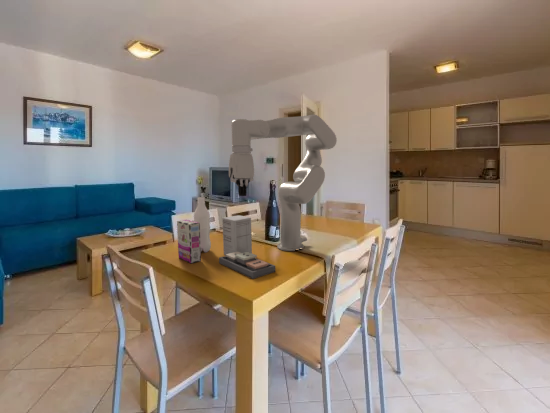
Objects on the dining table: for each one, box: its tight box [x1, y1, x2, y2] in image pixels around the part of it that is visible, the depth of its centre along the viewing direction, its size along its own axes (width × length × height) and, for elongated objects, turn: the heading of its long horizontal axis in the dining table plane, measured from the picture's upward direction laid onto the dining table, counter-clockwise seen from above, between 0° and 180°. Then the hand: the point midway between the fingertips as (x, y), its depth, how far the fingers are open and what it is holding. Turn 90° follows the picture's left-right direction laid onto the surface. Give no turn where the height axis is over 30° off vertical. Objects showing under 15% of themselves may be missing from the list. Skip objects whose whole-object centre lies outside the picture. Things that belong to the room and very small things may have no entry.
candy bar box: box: [176, 219, 202, 264], centre depth 127 cm, size 11×5×16 cm, turn 45°
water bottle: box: [193, 196, 212, 253], centre depth 138 cm, size 7×7×25 cm
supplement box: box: [222, 215, 253, 256], centre depth 133 cm, size 10×9×17 cm
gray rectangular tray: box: [218, 252, 276, 280], centre depth 118 cm, size 11×23×2 cm, turn 41°
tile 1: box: [225, 252, 241, 263], centre depth 123 cm, size 6×6×3 cm
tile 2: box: [235, 252, 258, 265], centre depth 118 cm, size 6×6×3 cm
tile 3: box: [246, 258, 269, 271], centre depth 113 cm, size 6×6×3 cm
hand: (242, 195), depth 126 cm, fingers closed
